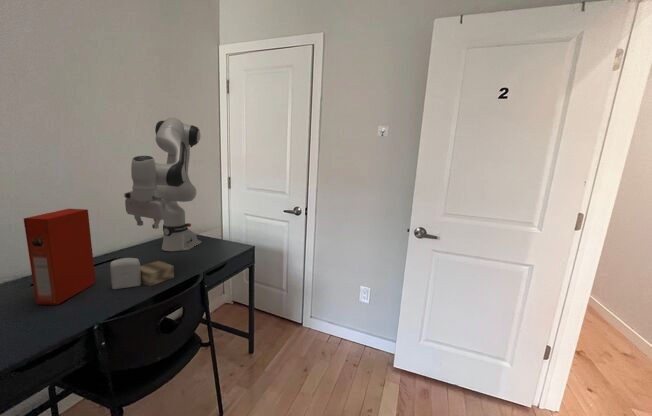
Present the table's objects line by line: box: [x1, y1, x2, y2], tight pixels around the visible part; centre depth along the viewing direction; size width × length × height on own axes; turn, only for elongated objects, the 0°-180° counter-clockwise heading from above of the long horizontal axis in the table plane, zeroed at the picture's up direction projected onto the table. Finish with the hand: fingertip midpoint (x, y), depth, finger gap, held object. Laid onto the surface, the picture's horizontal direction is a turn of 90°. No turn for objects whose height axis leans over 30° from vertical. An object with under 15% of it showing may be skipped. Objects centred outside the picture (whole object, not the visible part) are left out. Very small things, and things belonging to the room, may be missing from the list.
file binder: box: [23, 208, 96, 306], centre depth 106 cm, size 8×17×32 cm, turn 2°
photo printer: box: [109, 257, 142, 290], centre depth 116 cm, size 10×4×12 cm, turn 117°
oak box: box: [140, 260, 175, 287], centre depth 125 cm, size 11×11×6 cm
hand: (147, 226), depth 120 cm, fingers open, 7 cm apart
